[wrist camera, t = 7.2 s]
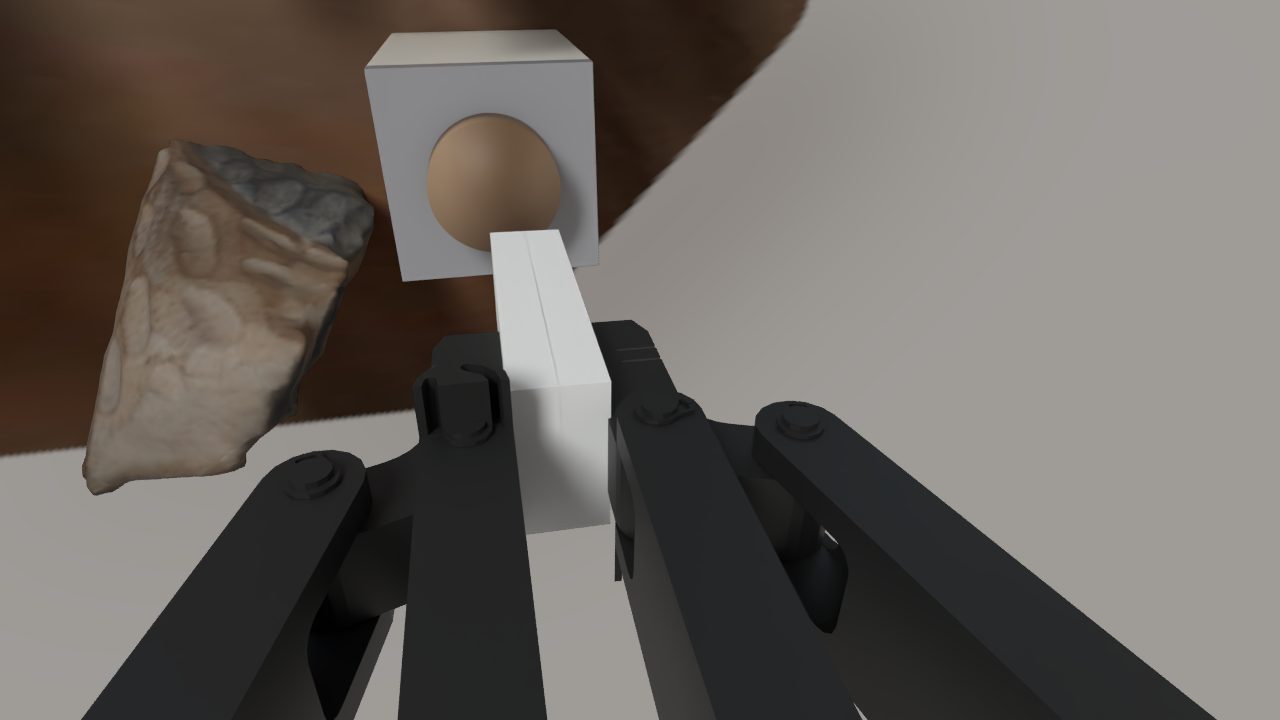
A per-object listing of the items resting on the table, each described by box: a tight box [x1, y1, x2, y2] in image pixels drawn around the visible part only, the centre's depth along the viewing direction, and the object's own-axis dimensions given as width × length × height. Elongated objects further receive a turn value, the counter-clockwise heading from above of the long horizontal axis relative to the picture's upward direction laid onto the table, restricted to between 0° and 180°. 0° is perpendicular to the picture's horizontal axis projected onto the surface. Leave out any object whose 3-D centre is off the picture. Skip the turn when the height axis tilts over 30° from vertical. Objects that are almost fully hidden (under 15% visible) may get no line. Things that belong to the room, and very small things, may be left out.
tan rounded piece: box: [426, 113, 561, 252], centre depth 39 cm, size 7×7×16 cm
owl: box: [82, 140, 375, 495], centre depth 40 cm, size 13×13×20 cm
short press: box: [364, 29, 599, 282], centre depth 41 cm, size 10×10×15 cm
